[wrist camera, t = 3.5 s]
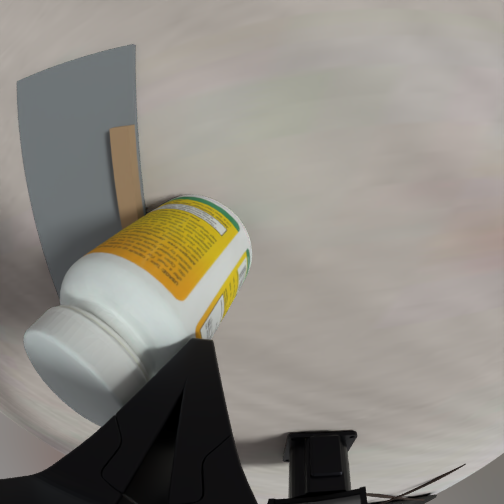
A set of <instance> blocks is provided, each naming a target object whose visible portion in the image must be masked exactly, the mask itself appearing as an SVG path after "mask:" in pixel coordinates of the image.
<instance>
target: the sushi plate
mask: <svg viewBox="0 0 504 504" xmlns="http://www.w3.org/2000/svg"><path fill="white" fill-rule="evenodd" d="M464 465H466V464H464ZM464 465H462V466H460V467H458V468H456V469H454V470H452V471H450V472H447V473H445V474H443V475H441V476H439V477H437V478H435V479H433V480H431V481H429V482H427V483H425V484H423V485H421V486H419V487H417V488H415V489H413V490H411V491H408V492H406V493H404V494H402V495H399V496H397V497H394V496H388V495H381V494H371V493H366V496H371V497H380V498H391V499H390V500H387V501H385V502H382V503H379V504H424V503H426V502H428V501H430V500H432V499H434V498H435V497H436V496H437V495H430V496H423V497H416V498H403V497H402V496H404V495H407V494H409V493H411V492H414V491H416V490H418V489H420V488H422V487H425V486H427V485H429V484H431V483H433V482H435V481H437V480H439V479H441V478H443V477H445V476H446V475H448V474H450V473H452V472H454V471H456V470H457V469H459V468H461V467H463V466H464ZM395 499H404V500H400V501H394V502H390V501H392V500H395Z"/></svg>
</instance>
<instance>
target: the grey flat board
mask: <svg viewBox="0 0 504 504" xmlns="http://www.w3.org/2000/svg"><path fill="white" fill-rule="evenodd" d="M135 47H136V45H134V44H131V45H127V46H122V47H118V48H114V49H110V50H106V51H102V52H98V53H95V54H91V55H88V56H84V57H81V58H78V59H75V60H71V61H68V62H65V63H63V64H60V65H57V66H54V67H51V68H49V69H46V70H43V71H41V72H38V73H36V74H33V75H31V76H28V77H26V78H24V79H21V80H19V81H17V105H18V120H19V132H20V141H21V149H22V157H23V163H24V170H25V176H26V181H27V187H28V192H29V197H30V201H31V206H32V210H33V215H34V219H35V223H36V227H37V231H38V234H39V238H40V242H41V245H42V249H43V252H44V255H45V258H46V262H47V265H48V268H49V271H50V274H51V277H52V280H53V283H54V285H55V288H56V291H57V294H58V296H59V299H60V290H61V285H62V282H63V279H64V277H65V275H66V273H67V271H68V270H69V269H70V267H71V266H72V265H73V264H74V263H75V262H76V261H78V260H79V259H80V258H81V257H83V256H84V255H86V254H87V253H89V252H90V251H92V250H93V249H94V248H96V247H97V246H99V245H100V244H102V243H103V242H105V241H106V240H108V239H109V238H111V237H112V236H114V235H115V234H117V233H118V232H120V231H121V230H123V229H124V228H126V227H127V226H129V225H130V224H132V223H134V222H135V221H137V220H138V219H140V218H141V217H143V216H145V215H146V209H145V202H144V193H143V184H142V175H141V165H140V154H139V141H138V126H137V108H136V73H135Z"/></svg>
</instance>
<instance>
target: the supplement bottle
mask: <svg viewBox="0 0 504 504" xmlns="http://www.w3.org/2000/svg"><path fill="white" fill-rule="evenodd" d="M251 261H252V248H251V242H250V238H249V236H248V233H247V231H246V229H245V227H244V225H243V224H242V222H241V221H240V219H239V218H238V217H237V215H235V214H234V213H233V212H232V211H231V210H230V209H228V208H227V207H226V206H224V205H223V204H221V203H219V202H217V201H216V200H214V199H211V198H209V197H206V196H201V195H183V196H179V197H176V198H174V199H171V200H170V201H168V202H166V203H164V204H163V205H161V206H159V207H158V208H156V209H154V210H153V211H151V212H149V213H148V214H146V215H145V216H143V217H141V218H140V219H138V220H137V221H135V222H134V223H132V224H130V225H129V226H127V227H126V228H124V229H123V230H121V231H120V232H118V233H117V234H115V235H114V236H112V237H111V238H109V239H108V240H106V241H105V242H103V243H102V244H100V245H99V246H97V247H96V248H94V249H93V250H92V251H90V252H89V253H87V254H86V255H84V256H83V257H81V258H80V259H79V260H78V261H76V262H75V263H74V264H73V265H72V266H71V267H70V269H69V270H68V271H67V273H66V275H65V277H64V279H63V282H62V285H61V290H60V306H57V307H52V308H50V309H48V310H47V311H46V312H45V313H44V314H43V315H42V316H41V317H40V318H39V319H38V320H37V321H36V322H35V323H34V324H33V325H31V326H30V327H29V328H28V329H27V330H26V332H25V335H24V347H25V350H26V353H27V355H28V357H29V359H30V361H31V363H32V365H33V366H34V368H35V369H36V371H37V373H38V374H39V375H40V377H41V378H42V380H43V381H44V382H45V383H46V384H47V385H48V387H49V388H50V389H51V390H52V391H53V392H54V393H55V394H56V395H57V396H58V397H59V398H60V399H61V400H62V401H63V402H65V403H66V404H67V405H68V406H69V407H71V408H72V409H73V410H74V411H76V412H77V413H78V414H80V415H81V416H83V417H84V418H86V419H88V420H89V421H91V422H93V423H95V424H97V425H99V426H101V427H102V426H103V425H104V424H105V423H106V422H107V421H108V420H109V419H110V418H111V417H112V416H113V415H116V413H117V412H118V411H119V410H120V409H121V408H122V407H123V406H124V405H125V404H126V403H127V402H128V401H129V400H130V399H131V398H132V397H133V396H134V395H135V394H136V393H137V392H138V391H139V390H140V389H141V388H142V387H143V386H144V385H145V384H146V383H147V382H148V381H149V380H150V379H151V378H152V377H153V376H154V375H155V374H156V373H157V372H158V371H159V370H160V369H161V368H162V367H163V366H164V365H165V364H166V363H167V362H168V361H169V360H170V359H171V358H172V357H173V356H174V355H175V354H176V353H177V352H178V351H179V350H180V349H181V348H182V347H183V346H184V345H185V344H186V343H187V342H188V341H189V340H190V339H191V338H201V339H211V338H212V337H213V335H214V333H215V331H216V330H217V328H218V326H219V325H220V323H221V321H222V319H223V318H224V316H225V314H226V312H227V311H228V309H229V307H230V305H231V303H232V302H233V300H234V298H235V296H236V295H237V293H238V291H239V289H240V287H241V286H242V284H243V282H244V280H245V278H246V276H247V274H248V272H249V269H250V266H251Z"/></svg>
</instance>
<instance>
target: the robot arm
mask: <svg viewBox="0 0 504 504" xmlns="http://www.w3.org/2000/svg"><path fill="white" fill-rule="evenodd" d="M356 438H357V432H355V431H350V432H335V433H302V434H289V435H288V438H287V442H286V447H285V451H284V455H283V461H284V462H289V498H288V499H269V500H268V503H267V504H367V497H366V488H365V487H360V489H355V490H351V482H350V471H349V461H348V451H349V449H350V447H351V446H352V444H353V443H354V441H355V439H356ZM0 504H258V503H257V501H256V499H255V497H254V495H253V492H252V490H251V488H250V486H249V484H248V481H247V479H246V476H245V474H244V471H243V469H242V466H241V463H240V460H239V456H238V453H237V449H236V445H235V441H234V437H233V433H232V429H231V424H230V420H229V415H228V411H227V406H226V402H225V397H224V392H223V387H222V383H221V378H220V373H219V368H218V363H217V358H216V352H215V347H214V342H213V340H211V339H201V338H191V339H190V340H189V341H188V342H187V343H186V344H185V345H184V346H183V347H182V348H181V349H180V350H179V351H178V352H177V353H176V354H175V355H174V356H173V357H172V358H171V359H170V360H169V361H168V362H167V363H166V364H165V365H164V366H163V367H162V368H161V369H160V370H159V371H158V372H157V373H156V374H155V375H154V376H153V377H152V378H151V379H150V380H149V381H148V382H147V383H146V384H145V385H144V386H143V387H142V388H141V389H140V390H139V391H138V392H137V393H136V394H135V395H134V396H133V397H132V398H131V399H130V400H129V401H128V402H127V403H126V404H125V405H124V406H123V407H122V408H121V409H120V410H119V411H118V412H117V413H116V415H113V416H112V417H111V418H110V419H109V420H108V421H107V422H106V423H105V424H104V425H103V426H102V427H101V428H100V429H99V430H98V431H97V432H95V433H94V434H93V435H92V436H91V437H89V438H88V439H87V440H86V441H84V442H83V443H82V444H81V445H79V446H78V447H77V448H75V449H74V450H73V451H71V452H70V453H69V454H67V455H66V456H64V457H63V458H62V459H60V460H59V461H58V462H56V463H55V464H53V465H52V466H50V467H49V468H47V469H45V470H44V471H42V472H39V473H36V474H33V475H29V476H22V477H15V478H7V479H0Z"/></svg>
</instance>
